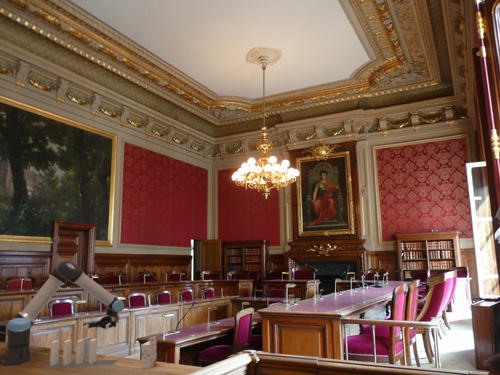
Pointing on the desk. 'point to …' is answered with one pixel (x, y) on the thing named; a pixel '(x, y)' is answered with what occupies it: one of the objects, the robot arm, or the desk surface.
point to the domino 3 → (80, 352)
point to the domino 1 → (54, 352)
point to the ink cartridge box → (149, 353)
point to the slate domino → (86, 348)
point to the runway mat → (85, 363)
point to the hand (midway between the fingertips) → (95, 327)
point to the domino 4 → (92, 351)
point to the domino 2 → (67, 352)
